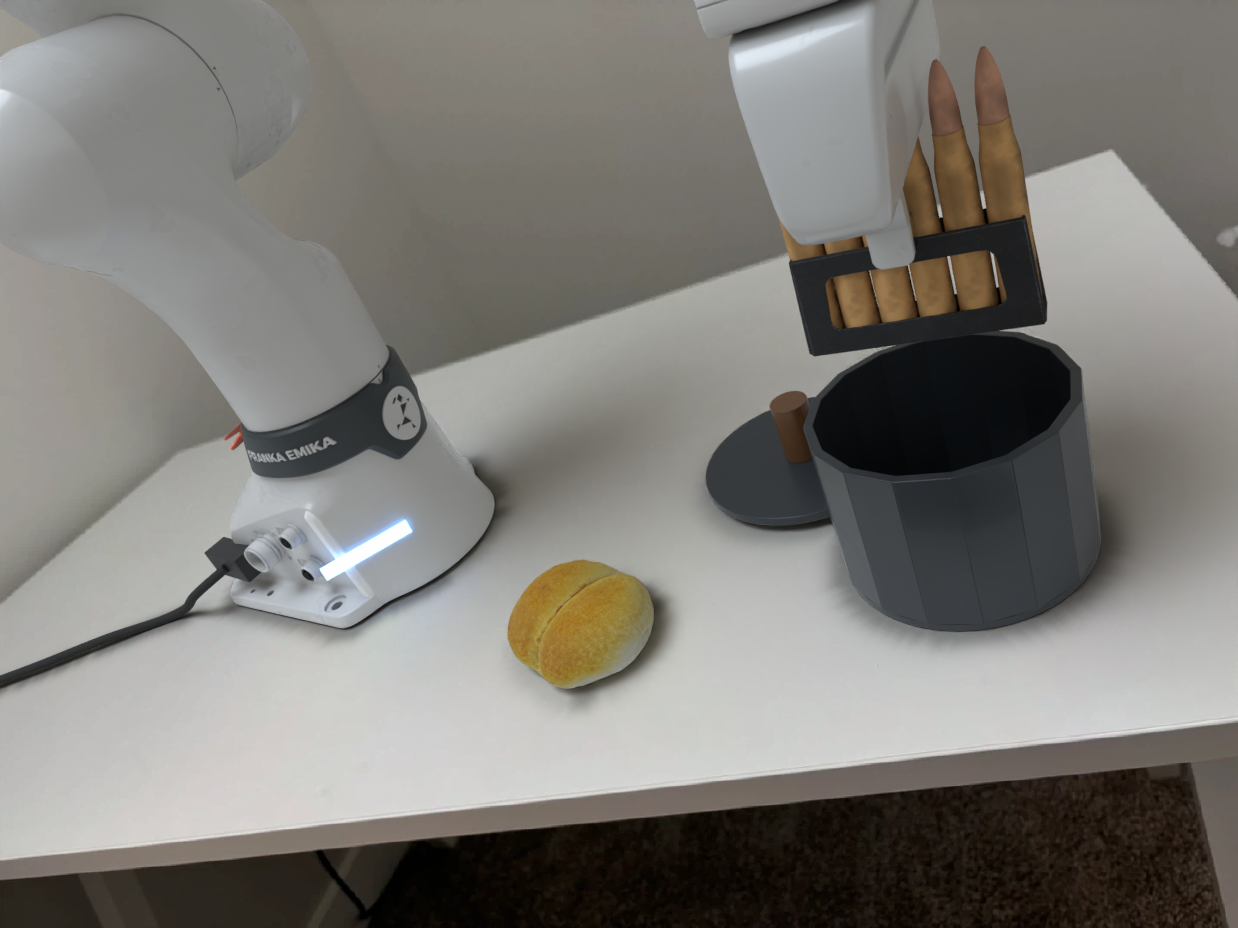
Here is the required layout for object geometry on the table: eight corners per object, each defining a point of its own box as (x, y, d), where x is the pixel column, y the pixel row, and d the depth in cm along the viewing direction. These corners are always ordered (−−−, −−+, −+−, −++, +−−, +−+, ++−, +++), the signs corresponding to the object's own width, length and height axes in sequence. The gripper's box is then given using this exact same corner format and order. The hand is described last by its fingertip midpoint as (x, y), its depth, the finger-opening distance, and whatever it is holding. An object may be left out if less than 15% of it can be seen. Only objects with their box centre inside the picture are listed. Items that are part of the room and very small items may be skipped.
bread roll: (586, 715, 51) (558, 664, 49) (500, 654, 58) (472, 607, 56) (690, 617, 55) (667, 566, 53) (597, 570, 61) (574, 523, 59)
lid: (687, 539, 61) (660, 475, 58) (736, 419, 71) (716, 360, 68) (900, 527, 55) (881, 454, 52) (922, 397, 64) (907, 331, 62)
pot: (828, 631, 50) (781, 490, 45) (865, 479, 59) (829, 349, 55) (1105, 632, 44) (1084, 468, 39) (1097, 461, 53) (1080, 313, 48)
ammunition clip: (809, 357, 47) (740, 118, 41) (816, 338, 48) (750, 104, 42) (1047, 324, 42) (1008, 45, 36) (1047, 303, 43) (1009, 32, 37)
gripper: (801, -108, 45) (865, 171, 52) (673, 4, 30) (787, 373, 37) (940, -161, 42) (989, 143, 49) (874, -66, 27) (957, 351, 34)
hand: (901, 244), depth 43 cm, fingers closed on ammunition clip, 2 cm apart
